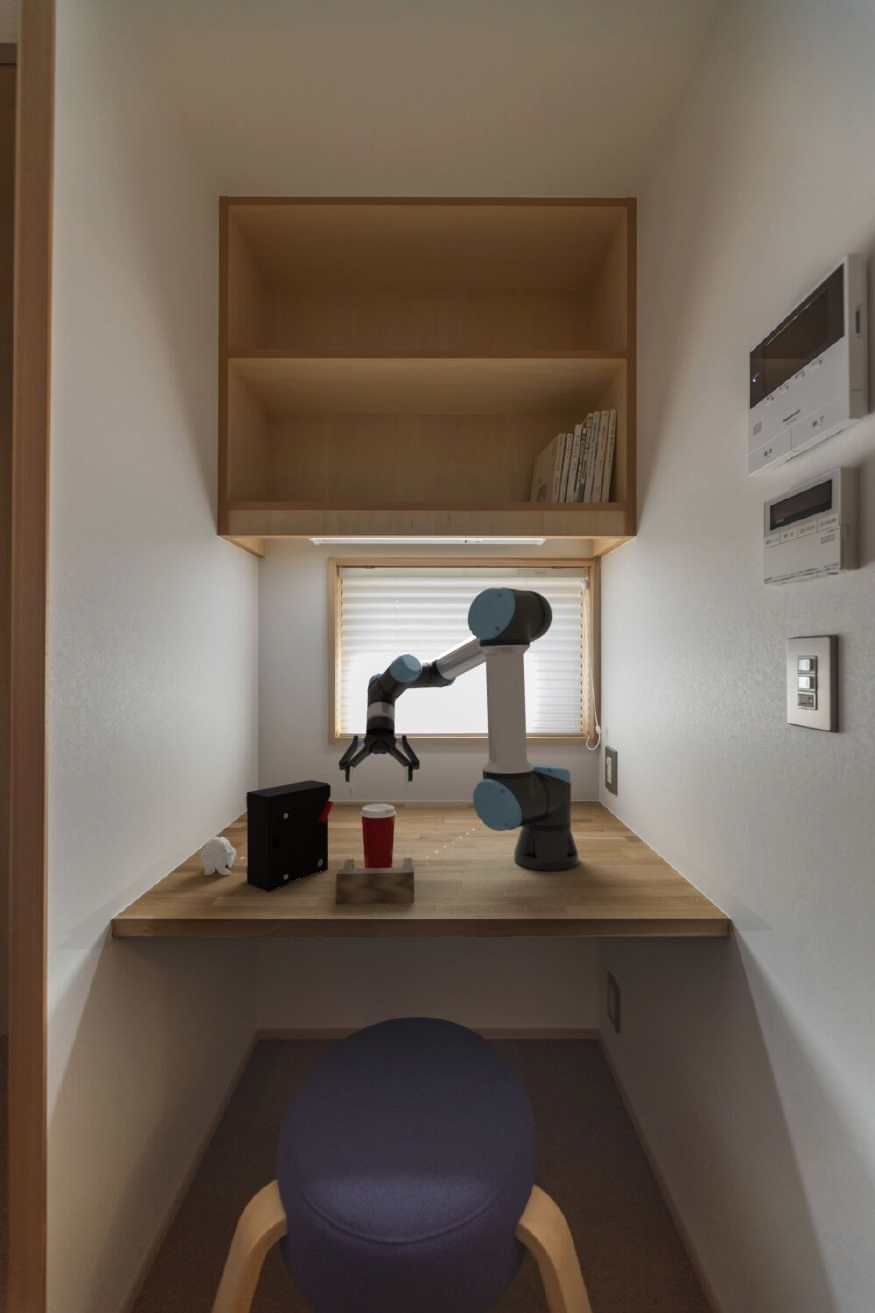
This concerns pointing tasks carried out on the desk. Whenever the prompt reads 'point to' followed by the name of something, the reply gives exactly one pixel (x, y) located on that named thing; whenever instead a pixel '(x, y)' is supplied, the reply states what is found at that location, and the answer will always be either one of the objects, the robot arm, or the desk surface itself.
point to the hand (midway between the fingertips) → (378, 792)
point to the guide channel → (375, 884)
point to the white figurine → (218, 856)
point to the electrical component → (287, 833)
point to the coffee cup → (378, 835)
